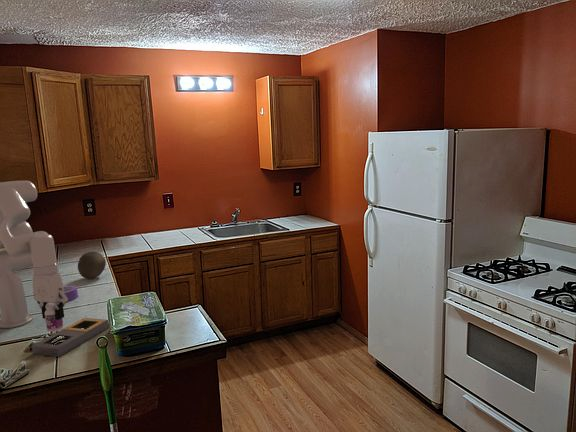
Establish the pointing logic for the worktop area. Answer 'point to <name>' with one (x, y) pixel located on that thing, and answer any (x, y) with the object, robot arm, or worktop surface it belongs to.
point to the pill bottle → (52, 319)
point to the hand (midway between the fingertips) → (53, 317)
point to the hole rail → (70, 337)
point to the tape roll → (70, 292)
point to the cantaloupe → (91, 265)
